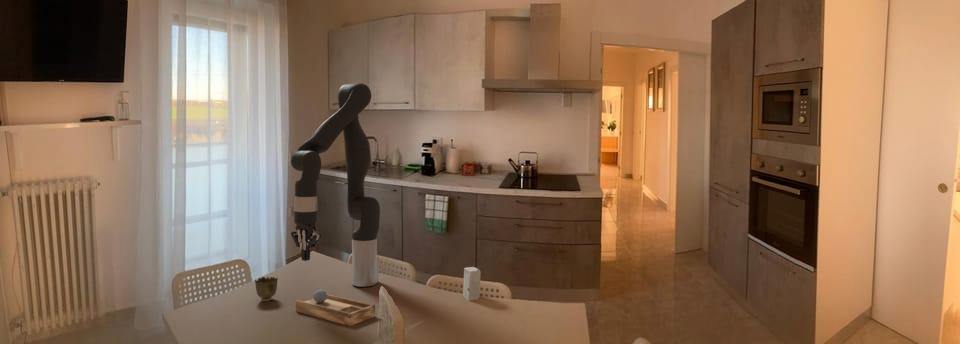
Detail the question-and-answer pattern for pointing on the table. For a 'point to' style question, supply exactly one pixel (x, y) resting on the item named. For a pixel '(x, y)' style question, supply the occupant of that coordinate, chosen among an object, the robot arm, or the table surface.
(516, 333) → the table surface
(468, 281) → the skincare box
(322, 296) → the ball
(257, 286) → the cup
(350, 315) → the tray
